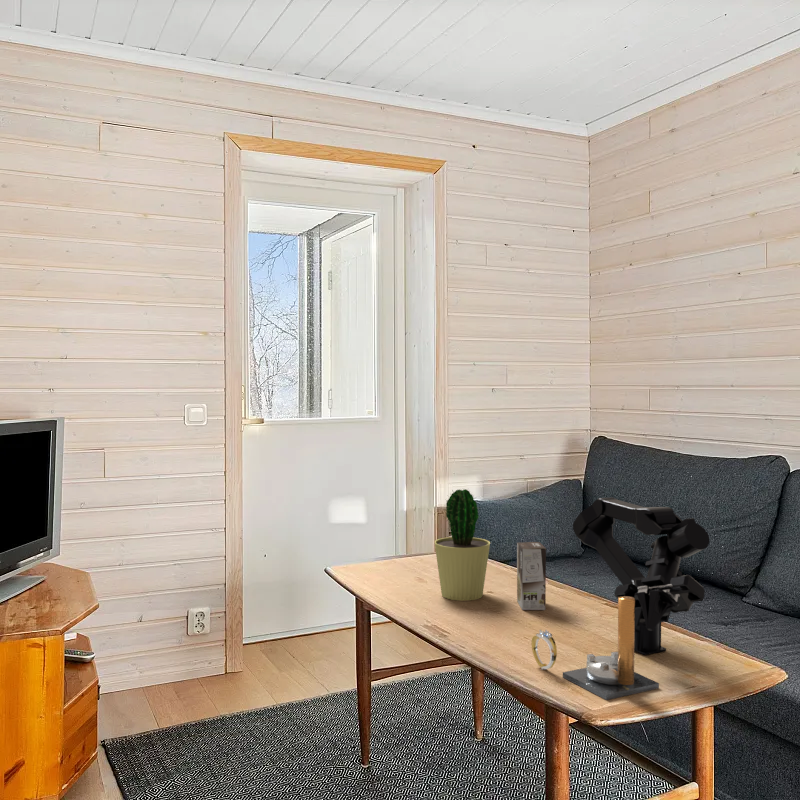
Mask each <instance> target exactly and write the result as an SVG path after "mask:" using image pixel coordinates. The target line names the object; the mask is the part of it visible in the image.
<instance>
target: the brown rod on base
mask: <svg viewBox="0 0 800 800" xmlns="http://www.w3.org/2000/svg"><path fill="white" fill-rule="evenodd" d="M617 599H618V600H617V651H611V655H597V656H596V655H595V654H594V653H589V654H588V653H587V654H586V668H587V677H588V678H590V679H591V680H593V681H596V682H599V683H603V684H611V685H621V684H623V685H632V684H634V672H635V651H634V627H635V598H633V597H629V596H620V597H618V598H617Z"/></svg>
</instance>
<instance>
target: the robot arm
mask: <svg viewBox="0 0 800 800" xmlns="http://www.w3.org/2000/svg"><path fill="white" fill-rule="evenodd" d="M616 520H619V521H623V522H625V523H627V524H632V525H633V526H635V529H636V530H637V531H638V532H640V533H642V534H644V535H645V536H659V537H658V538H656V539H655V541H653V542H652V543H651V544H650V549H653V550H652V555H651V559H650V560H647V561H645V567H647V568H648V571H647V576H646V577H645V576H644V575H643V573H642V572H641V570H640V569H639V568H638V567H637V566H636V564H635V563H634V561H632V559H631V558H630V557H629V555H628V554H627V552H626V551H625V550H624V549H623V548H622V547H621V546H620V544H619V542H618V541H617V540H616V539H615V538H614V535H613V534H614V525H615V524H616ZM572 529H573V532H574V534H575V536H576V537H577V539H579V540H580V541H581V542H582V543H583V544H584V545H587V546H589V547H591V548H592V549H595V550H596V551H597V553H598V554H599V555H600V557H601V558H602V559H603V561H604V562H605V564H606V565H607V566H608V568H609V569H610V570H611V571H612V572H613V574H614V575H615V577H616V578H617V579H618V580H619V582H620V583H621V584H620V585H617V586H616V587H615V591H614V598H616V599H618V597H620V596H629V597H633V598H635V627H634V652H636V653H639V654H641V655H645V656H646V655H651V654H652V655H653V654H657V653H661V652H666V651H667V648H666V647H664V646H662V623H668V622H669V619H670V615H671V613H673V614H677V613H682V612H683V613H684V612H685V613H687V612H689V611H690V609H691V608H692V606H693V605H694V603H695V602H696V603H697V602H702V601H704V598H705V589H704V586H703V585H701V583H699V582H698V581H697V580H695V578H694V577H692V575H690V574H686V575H685V574H683V572H682V571H680V570H679V569H680V565H681V564H680V563H681V560H682V559H686V558H688V557H691V556H693V555H695V554H697V553H699V552H701V551H704V550H706V549H707V548H708V546H709V544H710V536H709V533H708V532H707V531H706V530H705V528H704V527H703V526H702V525H700V524H698V523H697V522H696V520H695V518H693V517H691V518H689V517H688V518H684V519H683V520H682V519H681V518H680V517H679V516H678V515H677V514H676V513H675V510H674V509H673V508H671V507H670V506H648V507H645V506H642V505H637V504H634V503H630V502H626V501H623V500H620V499H617V498H614V497H613V496H612V497H599V498H597V499H595V500H594V501H593V503H592V504H591V505H589V506H588V507H587V508H585V509H583V510H582V511H581V512H579V514H578V516H577V517H576V518H575V520H574V521H573V523H572ZM660 535H661V536H660Z"/></svg>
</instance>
